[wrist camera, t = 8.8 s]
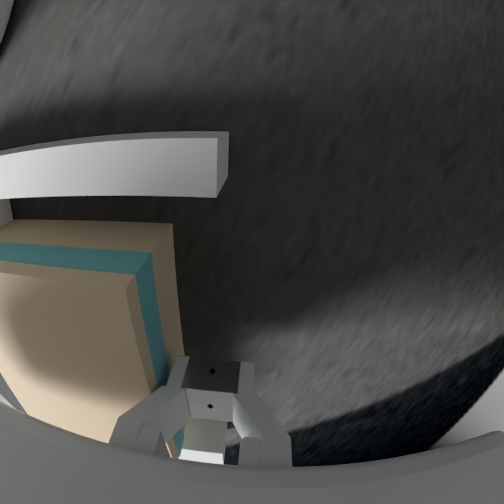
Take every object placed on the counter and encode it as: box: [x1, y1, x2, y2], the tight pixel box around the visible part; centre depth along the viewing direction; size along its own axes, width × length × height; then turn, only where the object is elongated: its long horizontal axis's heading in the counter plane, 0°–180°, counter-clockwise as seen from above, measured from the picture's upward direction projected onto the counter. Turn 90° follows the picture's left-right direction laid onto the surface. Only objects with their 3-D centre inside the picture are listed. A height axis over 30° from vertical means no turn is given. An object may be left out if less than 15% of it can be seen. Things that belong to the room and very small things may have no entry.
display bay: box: [0, 131, 229, 464], centre depth 12 cm, size 16×12×2 cm
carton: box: [0, 219, 186, 459], centre depth 11 cm, size 10×8×4 cm
